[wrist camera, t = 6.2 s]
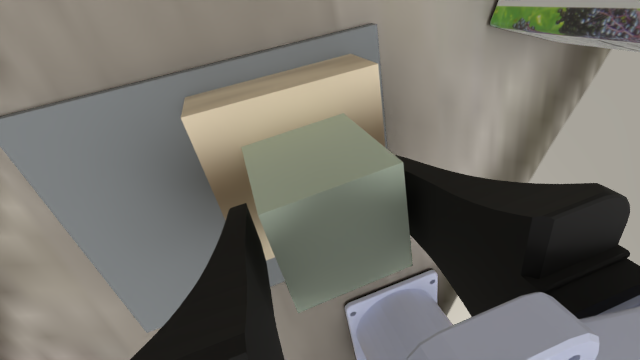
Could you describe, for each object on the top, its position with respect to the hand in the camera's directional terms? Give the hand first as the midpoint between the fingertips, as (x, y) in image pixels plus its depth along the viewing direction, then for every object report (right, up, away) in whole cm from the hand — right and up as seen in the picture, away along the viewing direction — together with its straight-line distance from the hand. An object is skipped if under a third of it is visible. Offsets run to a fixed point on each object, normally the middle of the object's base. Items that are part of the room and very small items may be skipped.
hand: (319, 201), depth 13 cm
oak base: (-2, +2, +4) cm, 5 cm away
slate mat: (-4, 0, +5) cm, 7 cm away
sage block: (-1, +1, +2) cm, 2 cm away
